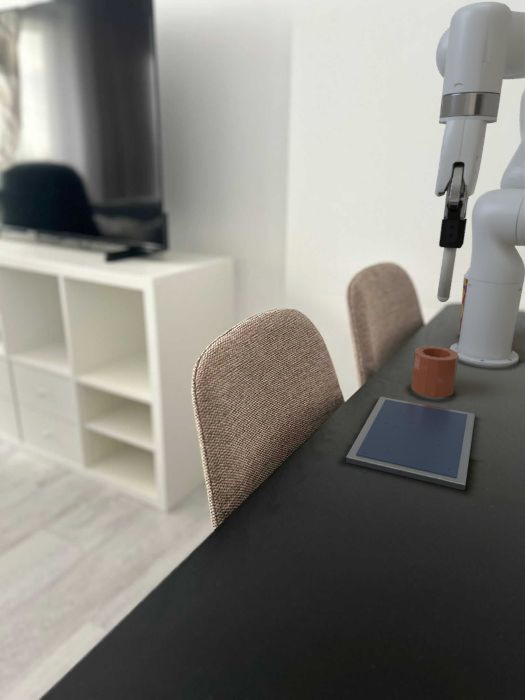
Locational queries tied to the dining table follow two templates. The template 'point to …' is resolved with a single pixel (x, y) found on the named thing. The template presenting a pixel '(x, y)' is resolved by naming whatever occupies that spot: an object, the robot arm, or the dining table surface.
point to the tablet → (416, 442)
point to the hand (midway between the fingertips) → (451, 245)
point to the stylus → (446, 274)
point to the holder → (434, 371)
